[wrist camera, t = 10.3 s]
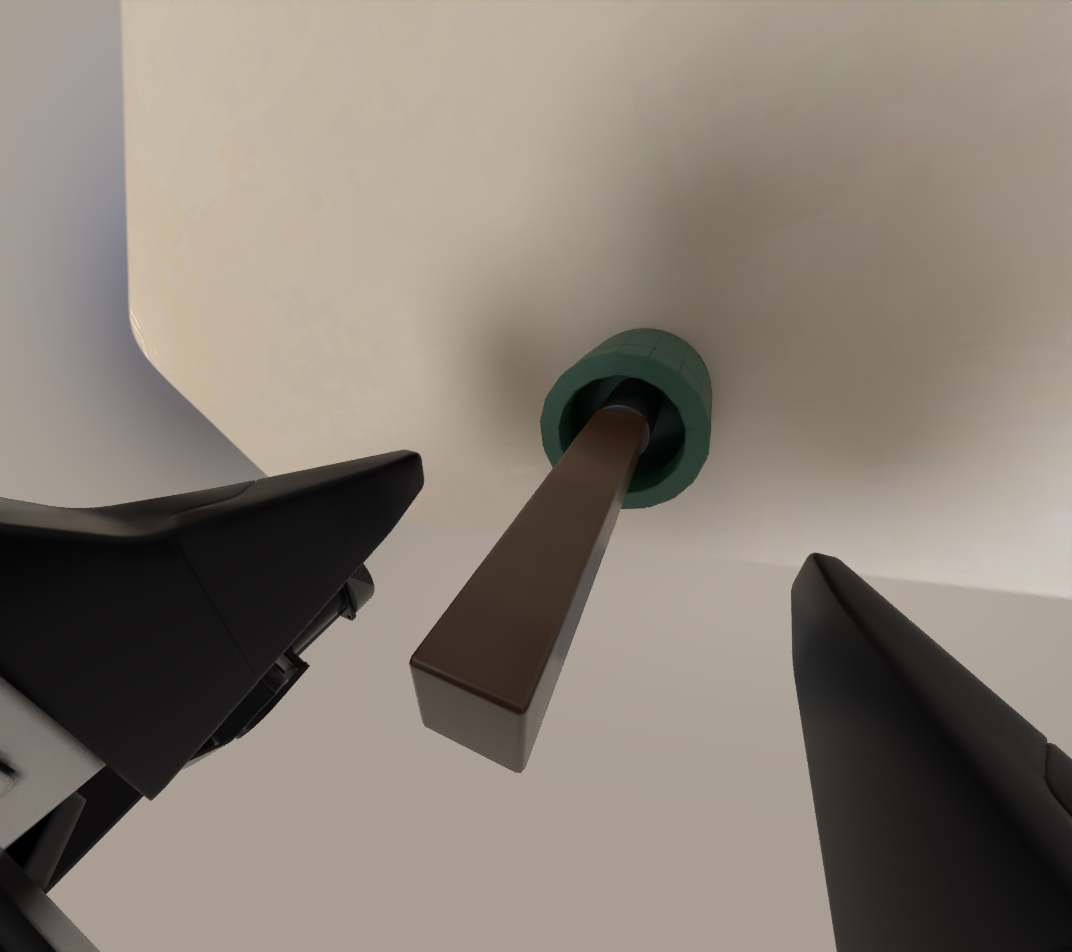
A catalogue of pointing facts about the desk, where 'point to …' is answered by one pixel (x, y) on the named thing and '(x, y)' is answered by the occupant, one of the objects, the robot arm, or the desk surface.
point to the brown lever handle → (532, 591)
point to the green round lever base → (679, 423)
